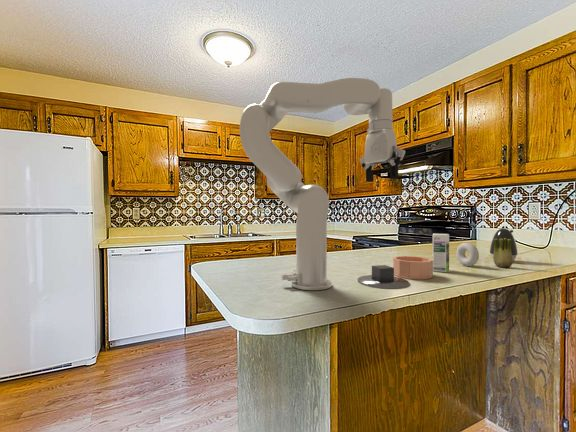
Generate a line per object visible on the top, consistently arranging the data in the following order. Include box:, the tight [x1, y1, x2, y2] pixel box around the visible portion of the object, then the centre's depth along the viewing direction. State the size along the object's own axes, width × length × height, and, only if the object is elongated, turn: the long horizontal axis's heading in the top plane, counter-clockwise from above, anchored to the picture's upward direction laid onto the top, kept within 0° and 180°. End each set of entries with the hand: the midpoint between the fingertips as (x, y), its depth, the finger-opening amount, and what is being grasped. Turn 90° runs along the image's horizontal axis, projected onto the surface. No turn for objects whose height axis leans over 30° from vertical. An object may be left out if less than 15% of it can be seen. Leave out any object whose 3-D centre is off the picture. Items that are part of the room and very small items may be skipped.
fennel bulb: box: [493, 238, 514, 269], centre depth 119 cm, size 6×5×12 cm
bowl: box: [392, 255, 434, 281], centre depth 104 cm, size 13×13×6 cm
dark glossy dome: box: [489, 228, 519, 261], centre depth 133 cm, size 10×10×15 cm
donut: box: [455, 242, 480, 267], centre depth 121 cm, size 10×4×10 cm, turn 15°
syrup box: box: [432, 233, 450, 274], centre depth 112 cm, size 6×6×14 cm
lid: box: [357, 264, 410, 290], centre depth 95 cm, size 16×16×6 cm
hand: (381, 180), depth 96 cm, fingers open, 9 cm apart
